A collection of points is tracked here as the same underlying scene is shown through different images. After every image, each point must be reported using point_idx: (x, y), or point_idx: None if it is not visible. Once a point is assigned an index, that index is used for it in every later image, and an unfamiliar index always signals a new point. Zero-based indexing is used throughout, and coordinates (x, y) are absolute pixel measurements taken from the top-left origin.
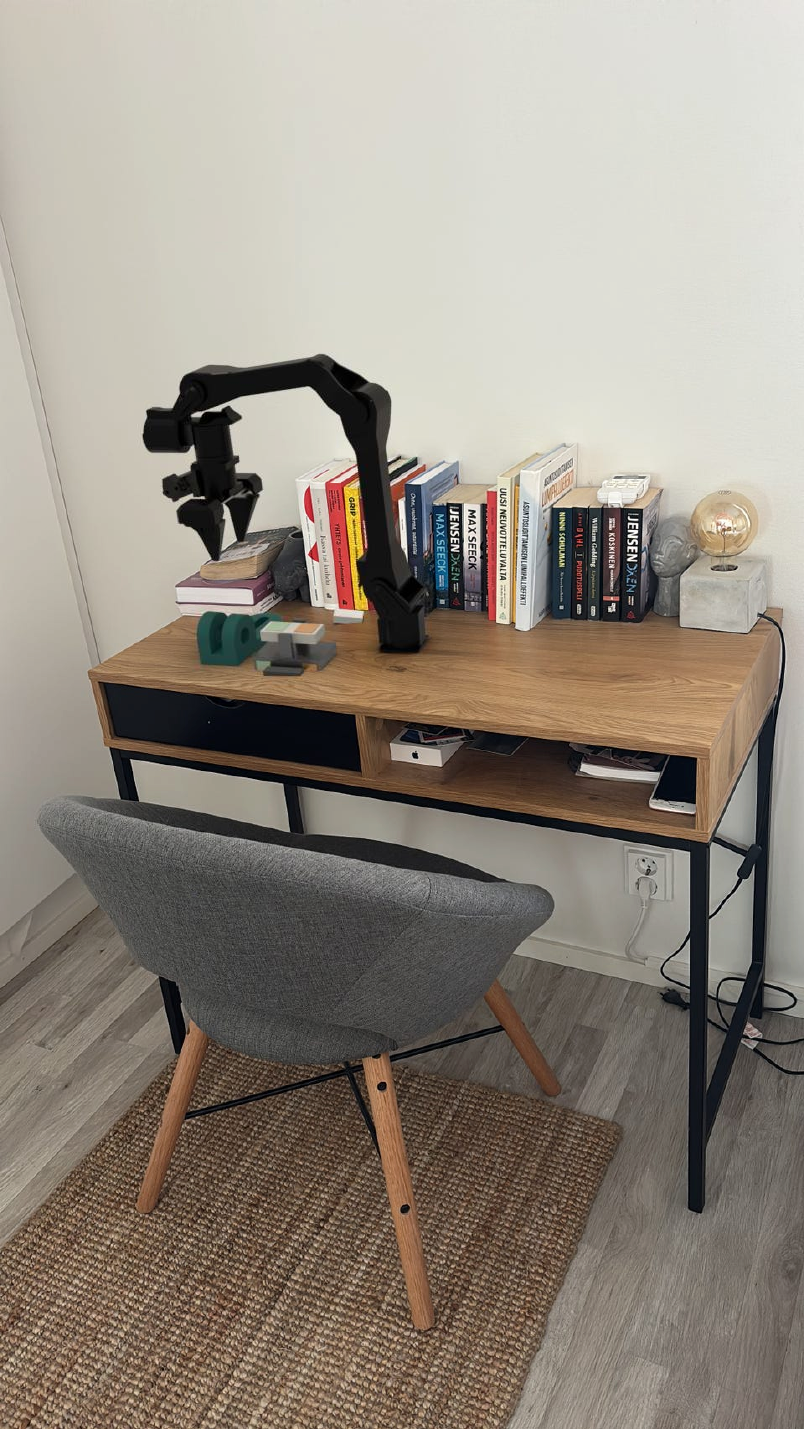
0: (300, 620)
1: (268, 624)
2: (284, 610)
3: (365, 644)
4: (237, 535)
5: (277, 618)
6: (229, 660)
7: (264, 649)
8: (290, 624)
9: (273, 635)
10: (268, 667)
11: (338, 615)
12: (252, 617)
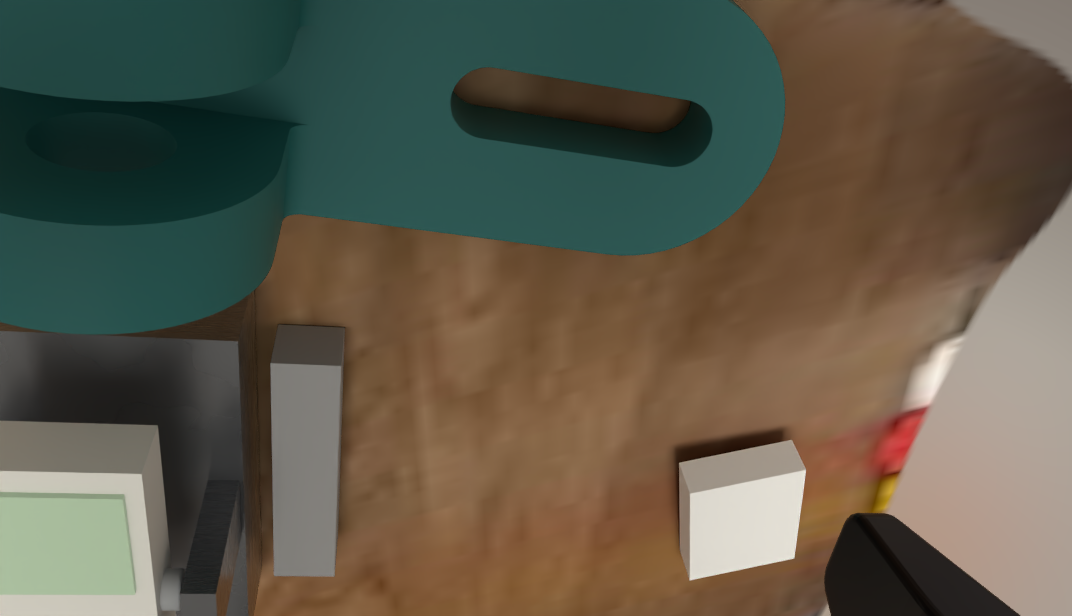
0: None
1: (79, 480)
2: (978, 123)
3: (455, 611)
4: (891, 599)
5: (672, 222)
6: None
7: (51, 357)
8: (121, 592)
9: None
10: None
11: (700, 507)
12: (707, 42)
